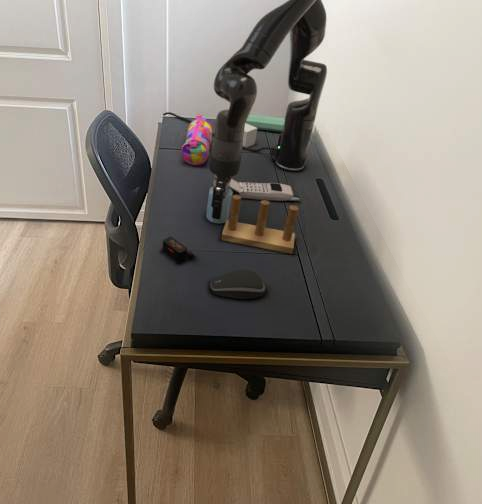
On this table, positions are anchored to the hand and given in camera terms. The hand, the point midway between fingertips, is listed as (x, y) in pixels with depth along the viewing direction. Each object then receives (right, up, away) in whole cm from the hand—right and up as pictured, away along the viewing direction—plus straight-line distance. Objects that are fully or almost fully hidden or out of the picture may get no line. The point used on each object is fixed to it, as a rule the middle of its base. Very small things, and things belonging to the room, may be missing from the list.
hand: (218, 211), depth 131 cm
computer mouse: (+4, -19, -22) cm, 30 cm away
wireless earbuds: (-10, -12, -14) cm, 21 cm away
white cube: (+10, +27, +43) cm, 52 cm away
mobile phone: (+11, +6, +13) cm, 18 cm away
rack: (+10, -8, -5) cm, 14 cm away
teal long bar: (+18, +35, +55) cm, 68 cm away
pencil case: (-7, +22, +33) cm, 40 cm away
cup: (0, -2, +1) cm, 2 cm away
